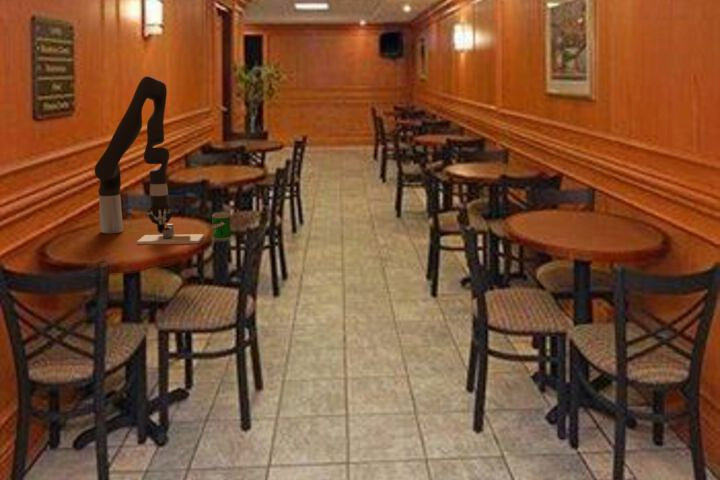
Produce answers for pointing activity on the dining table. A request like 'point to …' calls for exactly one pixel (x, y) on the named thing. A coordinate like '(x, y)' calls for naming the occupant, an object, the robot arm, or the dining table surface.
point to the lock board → (171, 239)
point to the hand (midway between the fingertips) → (161, 232)
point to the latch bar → (168, 231)
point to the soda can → (221, 226)
